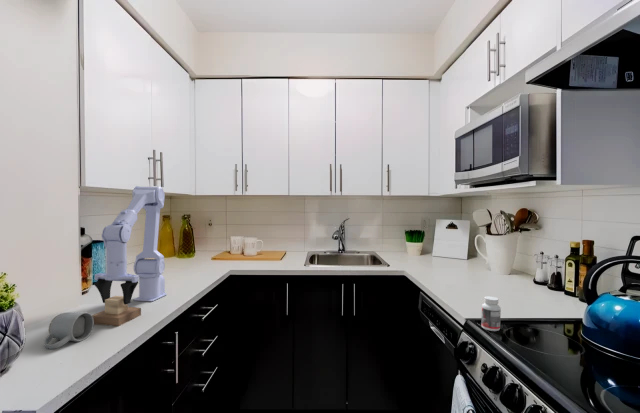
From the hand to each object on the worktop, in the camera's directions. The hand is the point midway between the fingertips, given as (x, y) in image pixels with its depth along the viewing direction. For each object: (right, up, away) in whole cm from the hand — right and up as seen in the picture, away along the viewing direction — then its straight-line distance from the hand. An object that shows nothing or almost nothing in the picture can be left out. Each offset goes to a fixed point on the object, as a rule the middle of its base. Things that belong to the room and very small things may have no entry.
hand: (116, 302), depth 110 cm
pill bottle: (+121, -8, -2) cm, 121 cm away
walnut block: (0, -6, 0) cm, 6 cm away
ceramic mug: (-4, -6, -16) cm, 18 cm away
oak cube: (0, -3, 0) cm, 3 cm away
